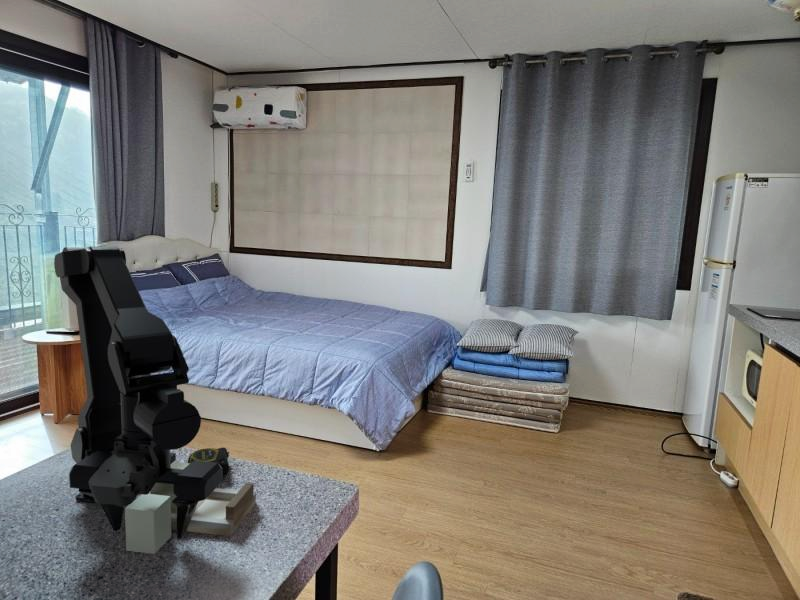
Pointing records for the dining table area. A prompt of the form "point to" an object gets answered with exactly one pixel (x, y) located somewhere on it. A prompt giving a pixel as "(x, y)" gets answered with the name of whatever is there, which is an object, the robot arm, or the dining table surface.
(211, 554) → the dining table surface
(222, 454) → the tape measure
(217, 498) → the open tray
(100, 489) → the robot arm
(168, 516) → the block
